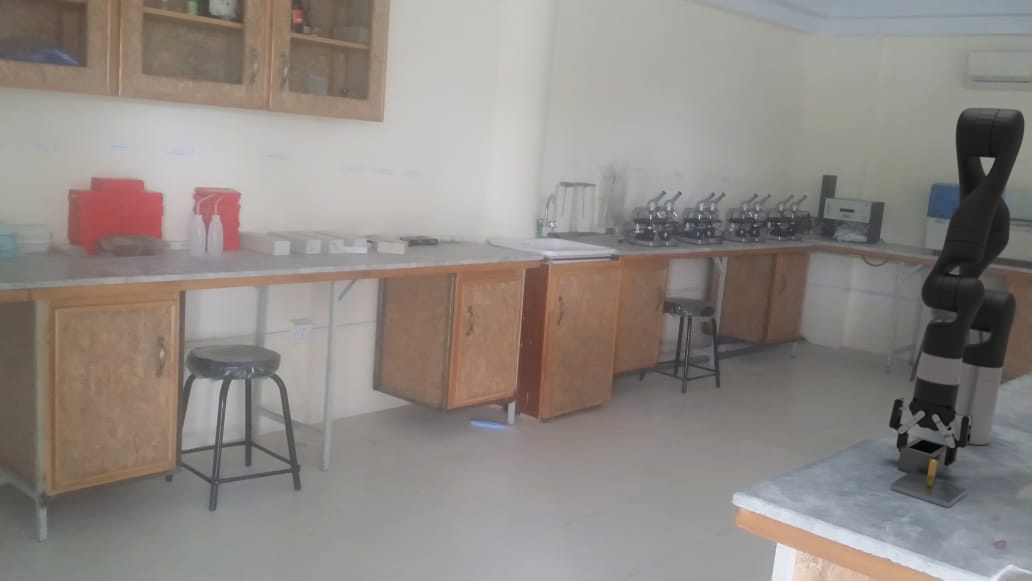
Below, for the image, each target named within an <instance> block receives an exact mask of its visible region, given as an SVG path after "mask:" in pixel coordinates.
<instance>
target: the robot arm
mask: <svg viewBox="0 0 1032 581" xmlns="http://www.w3.org/2000/svg"><path fill="white" fill-rule="evenodd" d="M955 127H956V128H955V151H956V161H957V172H958V186H959V187H958V190H959V194H958V196H959V197H958V205H957V207H956V208H955V209H954V211H953V213H952V215H951V217H950V219H949V222H948V226H947V231H946V234H945V238H944V242H943V246H942V249H941V252H940V253H939V256H938V257H937V260H936V261H935V264H933V267H932V269H931V270H930V271H929V273H928V274H927V277H926V278H925V280H924V281H923V282H924V283H923V284H922V287H921V292H920V293H921V299H922V302H923V303H924V305H925V306H926V307H928V308H930V309H934V310H941V311H945V312H946V311H947V312H951V313H955V315H956V316H955V317H956V318H955V319H953V321H933V322H930V323H929V324H928V325H927V326H926V328H925V332H924V334H925V335H924V337H923V338H924V339H923V343H922V344H923V345H922V350H921V351H922V352H921V354H920V358H919V360H918V364H917V365H918V366H917V369H916V377H915V384H914V389H913V390H914V391H913V395H912V400H911V401H910V400H907V399H905V397H899V398H896V399H895V400H894V402H893V407H892V412H891V414H890V419H889V423H888V426H889V428H891V429H893V430H896V431H897V433H898V435H897V440H896V444H895V445H896V449H898V453H900V451H901V447H902V446H904V445H906V444H908V443H909V432H908V431H909V430H910V429H912V428H913V427H914V426H916V425H918V426H919V428H923V429H929V430H930V431H934V432H937V431H938V432H939V433H940V434H941V436H942V437H943V438H944V440H945V441H946V444H947V445H949V446H948V447H947V450H946V456H945V461H944V465H945V466H948V467H950V466H951V465H952V464H954V463H955V462H956V460H957V454H958V448H965V447H968V445H977V446H978V445H979V446H985V445H988V444H989V443H990V440H991V434H992V429H993V424H994V419H995V412H996V408H997V402H998V398H999V397H998V396H999V391H1000V386H1001V385H1000V384H1001V380H1002V374H1003V368H1004V363H1005V359H1006V358H1005V357H1006V354H1007V348H1008V343H1009V338H1010V335H1011V331H1012V326H1013V323H1014V318H1015V313H1016V309H1017V301H1016V297H1015V295H1014V294H1013V293H1012V292H1008V291H1002V290H997V289H990V288H986V287H985V285H984V284H983V282H982V280H981V279H979V278H980V277H981V275H982V274H983V273H984V271H985V270H986V269H987V268H988V267H989V265H991V264H992V263H993V262H994V261H995V260H996V259H998V257H999V256H1000V255H1001V254H1002V253H1003V251H1004V250H1005V248H1006V247H1007V245H1008V243H1009V240H1010V229H1011V225H1010V224H1011V214H1010V208H1009V207H1008V205H1007V203H1006V202H1005V200H1004V197H1003V193H1004V191H1005V189H1006V186H1007V184H1008V180H1009V178H1010V176H1011V174H1012V171H1013V168H1014V167H1015V163H1016V161H1017V157H1018V155H1019V152H1020V149H1021V147H1022V143H1023V140H1024V135H1025V127H1026V126H1025V117H1024V114H1023V113H1022V112H1021V111H1020V110H1019V109H1014V108H1013V109H1012V108H996V107H995V108H994V107H969V108H966V109H963V110H962V112H961V113H960V114H959V117H958V119H957V122H956V126H955ZM981 158H986V159H987V158H989V159H994V160H993V164H992V166H991V168H990V170H989V171H988V173H987V174H986V172H985V170H984V168H983V164H982V161H981ZM955 268H959V270H958V274H955V273H951V272H952V271H953V270H954V269H955ZM970 330H973V331H978V332H983V333H987V334H990V335H989V338H988V339H987V340H984V341H981V342H977V343H967V344H966V342H967V337H968V334H969V331H970ZM907 408H908V409H909V411H910V413H911V415H912V417H911V418H909V419H908V420H906V422H905V423H903V424H902V423H901V420H902V416H903V412H904V411H906V410H907Z"/></svg>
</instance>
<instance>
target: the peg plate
mask: <svg viewBox="0 0 1032 581" xmlns="http://www.w3.org/2000/svg"><path fill="white" fill-rule="evenodd" d="M936 467H937V460H935V459H930V464H929V469H928V475H927V476H923V475H920V474H917V473H914V472H910V473H908V472H907V473H906V474H905V475H904V476H902V477H900V478H898V479H897V480H895V481H894V482H892V483H891V484H890V488H889V489H890V490H891V491H895V492H898V493H901V494H904V495H907V496H910V497H913V498H917V499H920V500H923V501H926V502H929V503H932V504H935V505H938V506H942V507H944V508H947V509H949V508H950V507H952V505H954V504H955V503H957V502H958V501H960V500H961V499H963V497H965V496H966V495H967V493H968V488H966V487H962V486H959V485H955V484H952V483H950V482H949V483H948V482H946V481H944V480H943V481H942V480H940V479H935V477H936V476H935V473H936Z"/></svg>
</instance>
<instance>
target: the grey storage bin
mask: <svg viewBox="0 0 1032 581" xmlns="http://www.w3.org/2000/svg"><path fill="white" fill-rule="evenodd" d="M948 446H949V445H948V444H947V443H946V444H945V443H942V442H938V441H935V440H931V439H927V438H924V437H921V436H919V437H917V438H915V439H914V440H913V439H912V441H910V442H907V444H906V445H904V446H902V447H901V451H900V452H899V458H898V465H897V470H899V471H901V472H905V473H907V474H908V473H910V472H914V473H917V474H920V475H923V476H927V475H928V469H929V464H930V459H935V460H937V467H936V473H935V477H937V476H938V475H939V474H941V473H943V472H944V471H946V470H947V469H949V466H945V465H944V461H945V456H946V450H947V447H948Z"/></svg>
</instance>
